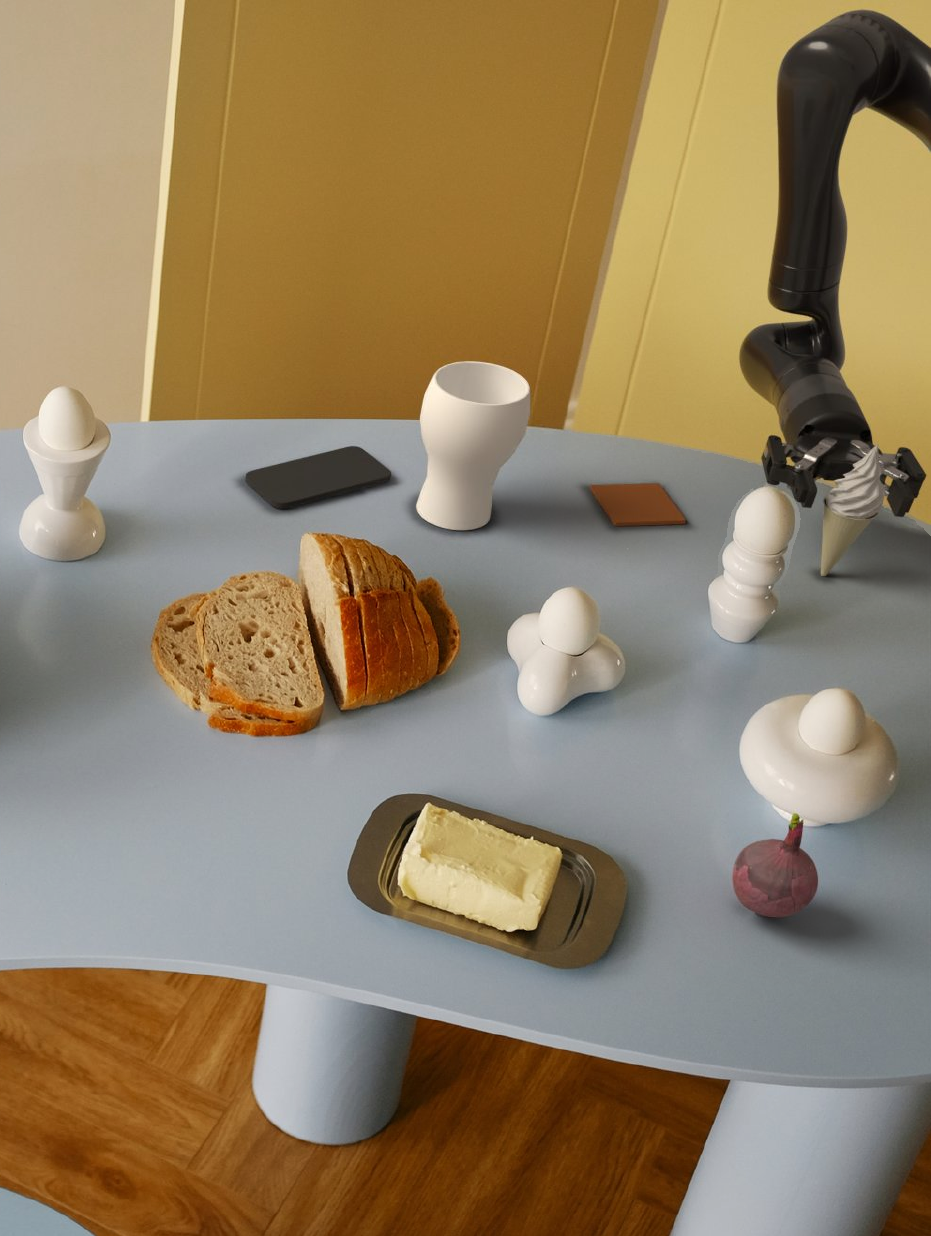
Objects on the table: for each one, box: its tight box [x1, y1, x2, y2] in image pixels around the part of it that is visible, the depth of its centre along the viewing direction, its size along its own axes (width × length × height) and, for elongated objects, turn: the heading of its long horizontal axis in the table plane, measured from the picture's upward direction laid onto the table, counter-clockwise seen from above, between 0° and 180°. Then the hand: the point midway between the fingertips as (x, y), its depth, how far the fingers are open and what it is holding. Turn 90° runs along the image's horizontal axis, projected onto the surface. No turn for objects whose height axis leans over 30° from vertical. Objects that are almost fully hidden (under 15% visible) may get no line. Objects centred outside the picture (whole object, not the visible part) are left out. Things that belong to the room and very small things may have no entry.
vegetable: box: [731, 812, 819, 918], centre depth 126 cm, size 6×6×10 cm
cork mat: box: [589, 482, 687, 527], centre depth 176 cm, size 8×8×1 cm
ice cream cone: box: [820, 443, 885, 577], centre depth 161 cm, size 5×5×15 cm
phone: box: [245, 445, 392, 509], centre depth 179 cm, size 7×1×15 cm
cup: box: [415, 360, 531, 531], centre depth 170 cm, size 11×11×15 cm
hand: (857, 504), depth 159 cm, fingers open, 8 cm apart
